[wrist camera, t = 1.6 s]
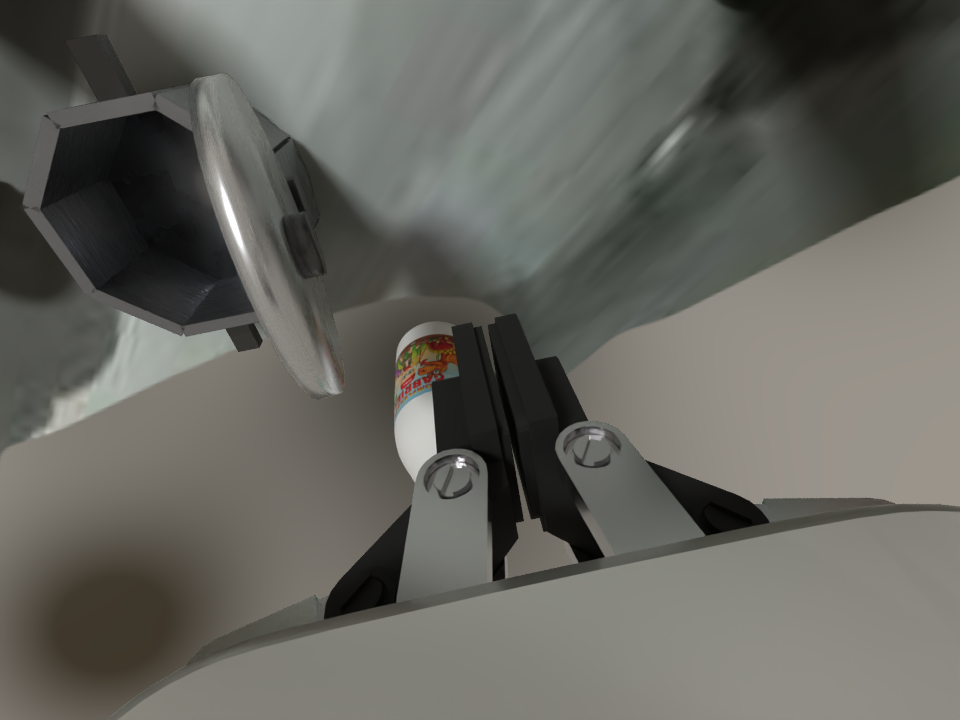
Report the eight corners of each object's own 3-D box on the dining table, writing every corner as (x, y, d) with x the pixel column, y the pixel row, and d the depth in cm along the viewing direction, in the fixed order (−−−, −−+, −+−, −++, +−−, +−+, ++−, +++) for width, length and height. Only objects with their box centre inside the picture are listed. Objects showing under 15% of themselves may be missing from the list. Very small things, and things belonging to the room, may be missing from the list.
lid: (225, 73, 24) (264, 65, 24) (322, 313, 32) (351, 305, 33) (142, 88, 12) (222, 72, 12) (331, 463, 20) (375, 448, 21)
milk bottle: (490, 338, 46) (535, 506, 29) (449, 394, 49) (470, 572, 33) (420, 304, 43) (428, 469, 26) (382, 365, 46) (368, 546, 30)
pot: (269, 13, 30) (227, 6, 23) (362, 288, 41) (352, 338, 34) (34, 59, 30) (-82, 65, 23) (192, 322, 41) (148, 380, 34)
